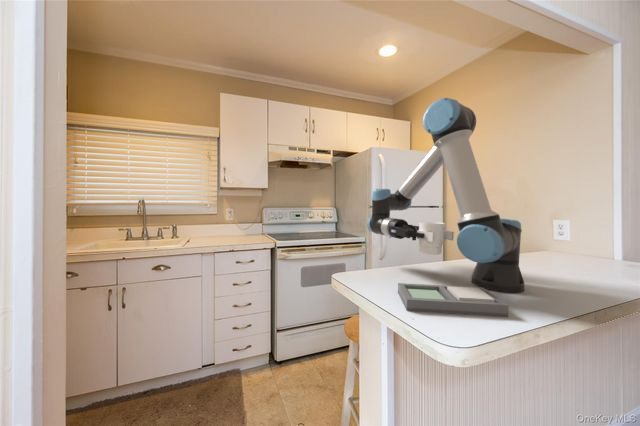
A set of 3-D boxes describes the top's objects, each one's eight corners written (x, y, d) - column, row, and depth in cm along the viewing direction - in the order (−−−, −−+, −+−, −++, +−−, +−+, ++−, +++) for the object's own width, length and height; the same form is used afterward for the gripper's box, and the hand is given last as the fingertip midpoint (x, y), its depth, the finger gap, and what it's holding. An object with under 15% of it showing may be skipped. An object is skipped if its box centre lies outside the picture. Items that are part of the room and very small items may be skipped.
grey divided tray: (481, 297, 79) (482, 287, 78) (507, 316, 66) (508, 305, 65) (397, 292, 82) (398, 283, 81) (406, 310, 69) (407, 299, 68)
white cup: (446, 256, 81) (447, 224, 80) (419, 254, 83) (421, 223, 82) (439, 250, 89) (441, 222, 88) (415, 249, 90) (417, 220, 90)
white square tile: (478, 291, 77) (478, 287, 76) (494, 303, 68) (494, 299, 68) (446, 289, 78) (447, 286, 78) (458, 301, 69) (459, 297, 69)
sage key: (436, 293, 78) (436, 290, 78) (447, 305, 69) (447, 301, 69) (406, 291, 79) (406, 288, 79) (413, 303, 70) (413, 299, 70)
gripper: (414, 236, 106) (465, 246, 85) (373, 238, 98) (417, 250, 77) (415, 218, 105) (466, 223, 84) (373, 219, 98) (418, 225, 77)
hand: (443, 236), depth 81 cm, fingers closed on white cup, 7 cm apart
